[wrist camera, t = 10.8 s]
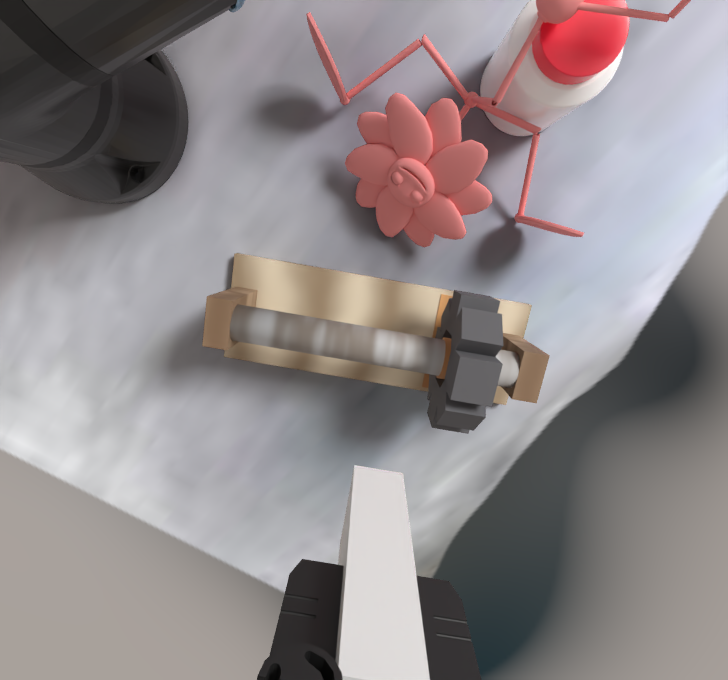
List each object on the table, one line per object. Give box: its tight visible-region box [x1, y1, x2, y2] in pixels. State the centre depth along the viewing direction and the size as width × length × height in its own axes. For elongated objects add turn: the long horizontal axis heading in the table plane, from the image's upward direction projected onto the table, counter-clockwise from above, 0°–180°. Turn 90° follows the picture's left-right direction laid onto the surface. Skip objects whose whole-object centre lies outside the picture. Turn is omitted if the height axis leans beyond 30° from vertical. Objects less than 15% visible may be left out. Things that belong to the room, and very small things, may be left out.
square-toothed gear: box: [427, 290, 503, 434], centre depth 36 cm, size 3×11×11 cm, turn 170°
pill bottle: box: [480, 0, 629, 136], centre depth 32 cm, size 8×8×11 cm
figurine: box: [306, 0, 691, 247], centre depth 26 cm, size 15×26×35 cm
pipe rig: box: [202, 253, 549, 405], centre depth 39 cm, size 28×10×9 cm, turn 80°
